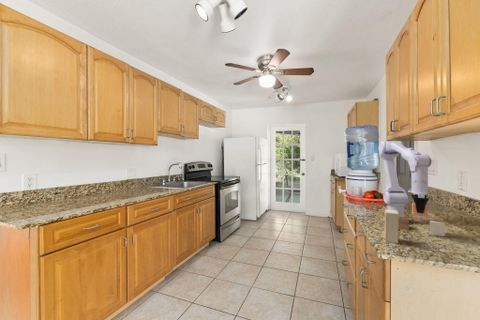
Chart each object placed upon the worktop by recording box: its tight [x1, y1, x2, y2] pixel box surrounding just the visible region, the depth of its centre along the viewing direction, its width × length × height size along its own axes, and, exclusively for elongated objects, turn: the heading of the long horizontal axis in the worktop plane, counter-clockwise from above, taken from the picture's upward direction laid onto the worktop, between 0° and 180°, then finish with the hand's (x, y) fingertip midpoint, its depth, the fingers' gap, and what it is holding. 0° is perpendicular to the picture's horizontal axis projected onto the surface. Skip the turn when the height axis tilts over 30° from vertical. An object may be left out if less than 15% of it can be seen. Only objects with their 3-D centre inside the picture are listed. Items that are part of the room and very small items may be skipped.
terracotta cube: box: [411, 202, 429, 218], centre depth 97 cm, size 5×5×5 cm
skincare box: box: [384, 209, 399, 245], centre depth 89 cm, size 6×4×12 cm
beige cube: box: [429, 220, 446, 237], centre depth 97 cm, size 5×5×5 cm
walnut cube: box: [398, 216, 410, 231], centre depth 106 cm, size 5×5×5 cm
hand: (419, 211), depth 97 cm, fingers closed on terracotta cube, 5 cm apart
